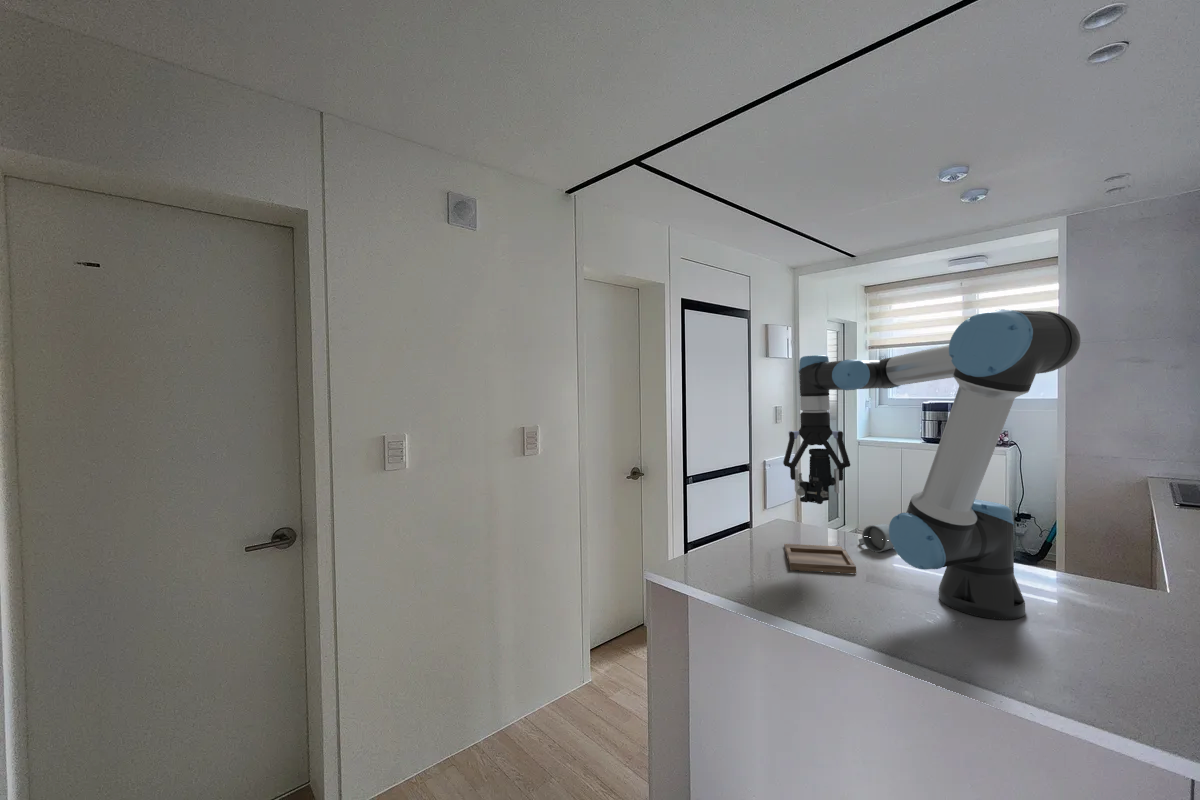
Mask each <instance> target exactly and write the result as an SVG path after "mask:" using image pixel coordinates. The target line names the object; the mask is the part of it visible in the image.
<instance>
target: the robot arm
mask: <svg viewBox="0 0 1200 800" xmlns="http://www.w3.org/2000/svg"><path fill="white" fill-rule="evenodd" d="M1080 346H1081V334H1080V331H1079V329H1078V327H1077V326H1076V324H1075V323H1074V322H1073V321H1072V320H1071V319H1070V318H1068V317H1067V316H1064V315H1062V314H1060V313H1057V312H1052V311H1046V310H1035V311H1034V310H1016V309H1015V310H1014V309H996V310H987V311H983V312H982V311H981V312H979V313H976V314H974V315H972V316H970V317H969V318H967V319H965V320H964V321H962V322H961V323H960V324H959V325H958V327H956V328H955V331H954V332H953V334H952V335H951V338H950V340H949V344H946V345H942V346H938V347H933V348H928V349H927V348H926V349H924V350H918V351H915V352H913V351H912V352H909V353H906V354H900V355H896V356H892V357H890V356H889V357H885V358H883V359H882V358H880V359H869V360H868V359H867V360H866V359H863V360H862V359H861V360H860V359H844V360H836V361H829V356H828V355H825V354H819V355H804V356H802V357H800V359H799V361H798V362H799V367H798V374H799V376H798V378H799V381H798V383H799V405H800V406H799V409H800V411H802V412H800V414H799V418H800V427H799V430H795V431H793V430H789V431H788V443H787V446H786V450H785V455H784V457H783V461H782V463H783V465H784V466H785V467H787V468H789V475H790V476H789V477H790V479H791V481H792V480H793V481H794V491H795V493H797V490H798V489H799V484H798V481H799V468H798V467H797V465H798V464H799V461H800V460H801V458H802V456H803V455H804V453H805V451H806V449H807V448H808V446H815V445H817V446H824V449H826V450H828V452H829V453H830V455H829V457H830V459H832V460H833V463H834V464H835V465H836V466H835V467H833V477H834V478H835V480H836V481H835V482H836V483H835V485H833V486H834V487H833V488H834V491H833V492H835V494H840V481H844V469H845V468H850V466H851V463H850V462H851V461H850V458H849V455H848V453H847V448H846V446H845V443H844V439H843V438H844V432H843V431H841V430H832V429H831V419H830V418H831V414H830V413H829V411H830V409H831V407H830V406H831V405H830V391H833V390H834V391H835V390H836V391H856V390H868V389H869V390H870V389H884V390H885V389H894V388H898V387H900V386H903V385H911V384H919V383H924V382H929V381H930V382H932V381H939V380H945V379H952V378H954V380H955V381H956V382H957V384H958V389H957V391H956V395H955V397H954V401H953V403H952V406H951V409H950V411H949V414H948V417H947V421H946V424H945V427H944V429H943V433H942V435H941V438H940V439H939V440H940V441H939V444H938V446H937V450H936V451H935V454H934V458H933V461H932V464H931V467H930V470H929V472H928V475H927V478H926V481H925V483H924V487H923V490H922V491H919V492H916V493H914V494H913V495H912V496H911V498H910V501H909V504H908V506H907V509H906V512H901V513H898V514H896V515H894V517H892V519H891V520H890V521H889V537H890V541H891V543H892V544H893V546H894V548H893V549H894V551H895V553H896V554H897V555H898V557H900V558H901V559H902V560H903V561H904V562H905V563H907V564H908V565H909V566H911V567H913V568H916V569H919V570H925V571H926V570H939V569H942V568H945V570H944V573H943V575H942V578H941V580H940V583H939V585H938V598H939V600H940V602H942V603H943V604H944V605H946V606H948V607H950V608H952V609H954V610H955V611H957V612H958V611H959V612H962V613H965V614H968V615H972V616H974V617H975V616H976V617H980V618H983V619H984V618H985V619H991V620H992V619H994V620H1016V619H1020V618H1023V617H1024V616H1025V615H1026V602H1025V598H1024V596H1023V594H1022V592H1021V589H1020V587H1019V583H1018V582H1017V579H1016V577H1015V570H1014V566H1015V565H1014V563H1015V562H1014V561H1015V560H1014V557H1015V556H1014V555H1015V554H1014V526H1015V522H1014V521H1013V520H1014V517H1013V511H1012V509H1011V508H1010V507H1009V506H1007V505H1005V504H1002V503H999V502H994V501H989V500H982V499H978V498H977V495H978V492H979V490H980V487H981V484H982V483H983V479H984V477H985V475H986V472H987V469H988V467H989V464H990V462H991V459H992V457H993V454H994V452H995V450H996V447H997V444H998V441H999V440H1000V437H1001V434H1002V431H1003V429H1004V426H1005V424H1006V421H1007V419H1008V416H1009V414H1010V412H1011V409H1012V406H1013V404H1014V401H1015V399H1016V398H1017V397H1020V396H1023V395H1025V394H1028V393H1029V391H1030V390H1031V387H1032V385H1033V382H1034V380H1035V377H1036V375H1037V374H1046V373H1050V372H1053V371H1056V370H1059V369H1062V368H1063V367H1064V366H1066V365H1068V364H1069V363H1070V362H1071V361H1072V360H1073V359H1075V357H1076V355H1077V354H1078V351H1079V349H1080ZM798 436H799V437H800V438H801V439H803V440H802V442H801V444H800V446H799V448H798V450H797V451H796V453H795V454H794V456H793V459H792V460H791V456H792V453H793V448H794V445H795V440H796V439H798ZM832 436H833V438H834V439H835V440H836V442H837V443H836V444H837V447H838V450H839V453H840V456H841V459H842V462H841V460H840V459H839V457H838V456H837V454H836V453H835V451H834V449H833V448H832V446H831V444H830V443H829V441H828V440H829V439H830V438H831V437H832ZM790 460H791V462H790ZM976 498H977V499H976Z"/></svg>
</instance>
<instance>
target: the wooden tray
mask: <svg viewBox="0 0 1200 800" xmlns="http://www.w3.org/2000/svg"><path fill="white" fill-rule="evenodd" d="M784 550H785V555H786V554H787V555H786V558H787V561H788V565H789V569H791V570H790V571H795V570H799V571H798V572H811V571H823V572H822V573H827V572H840V573H839V574H843V573H856V574H857V566H856V564H855V563H854V561H853V559H852V557H851V556H850V554H849V553H848V552H847V550H846V549H844V548H843V547H842V546H838V545H821V544H820V545H818V544H815V545H814V544H800V543H799V544H795V543H784Z"/></svg>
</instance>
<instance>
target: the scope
mask: <svg viewBox="0 0 1200 800" xmlns="http://www.w3.org/2000/svg"><path fill="white" fill-rule="evenodd" d="M808 454H809V455H810V456H809V474H808V481H804V480H803V477H802V475H803V474H802V472H800V473H799V472H798V484H799V489H798V490H797V492H796V494H797V495H798V496H800V498H799V501H800V502H802V503H814V504H817V505H822V504H823V503H824V502H825V501H829V500H830V492H829V491H830V490H829V489H830V488H829V487H830V486H834V485H835V483H836V482H835V481H836V480H835V478H834V476H832V468H831V456H830V453H829V452H828V450H826V448H809V449H808Z"/></svg>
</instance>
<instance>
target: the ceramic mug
mask: <svg viewBox="0 0 1200 800" xmlns="http://www.w3.org/2000/svg"><path fill="white" fill-rule="evenodd" d="M889 524H890V523H889ZM889 524H888V523H880V524H871V525H868V526H866V527H865V528H864V529H863V530H862V532H861V533H862V534H861V538H859V539H858V543H859V545H864V546H865V547H866V548H867V549H868V550H870V551H872V552H874V551H875V552H874V553H881V552H885V551H888V550H891V549H894V546H893V544H892V543H891V541H890V537H889ZM864 536H868V537H864ZM869 537H871V538H869ZM882 539H883V540H882ZM887 540H889V541H887Z"/></svg>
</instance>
